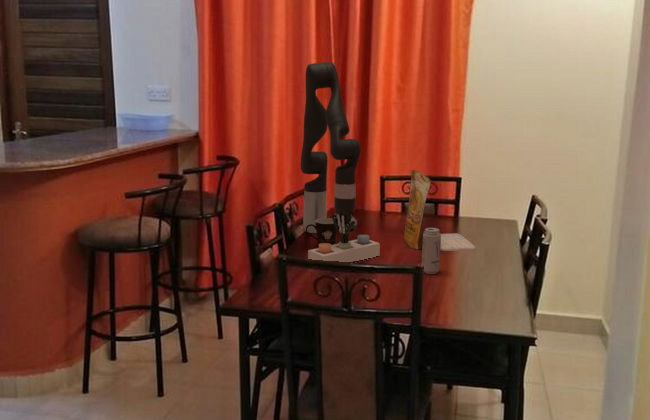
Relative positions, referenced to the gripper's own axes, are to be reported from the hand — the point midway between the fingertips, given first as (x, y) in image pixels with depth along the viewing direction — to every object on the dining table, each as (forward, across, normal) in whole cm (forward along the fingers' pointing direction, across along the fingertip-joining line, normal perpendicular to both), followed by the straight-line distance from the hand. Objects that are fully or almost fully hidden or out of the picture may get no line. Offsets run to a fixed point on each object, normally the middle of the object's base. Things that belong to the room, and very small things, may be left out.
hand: (344, 242), depth 243 cm
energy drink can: (+7, +28, +15) cm, 32 cm away
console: (+6, 0, 0) cm, 7 cm away
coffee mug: (+7, -19, +5) cm, 21 cm away
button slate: (+2, 0, +9) cm, 9 cm away
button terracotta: (+2, 0, -9) cm, 9 cm away
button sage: (+3, 0, 0) cm, 3 cm away
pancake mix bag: (+7, +1, +35) cm, 36 cm away
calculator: (+7, +9, +47) cm, 48 cm away
